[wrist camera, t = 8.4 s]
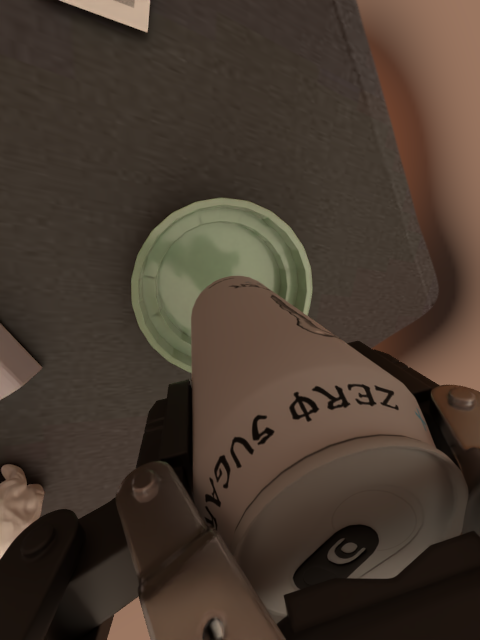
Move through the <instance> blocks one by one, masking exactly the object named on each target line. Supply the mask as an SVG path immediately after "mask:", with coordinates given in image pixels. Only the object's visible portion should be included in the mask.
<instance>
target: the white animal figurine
mask: <svg viewBox="0 0 480 640" xmlns="http://www.w3.org/2000/svg"><path fill="white" fill-rule="evenodd" d="M1 473H2V475H3V476H4V478H5V479H6V481H4V482H2V483H0V559H1V558H2V556H3V555H4V553H5V552H6V550H7V549H8V547H9V546H10V545H11V543H12V542H13V541H14V540H15V539H16V537H17V536H18V535H19V534H20V533H21V532H22V531H23V530H24V529H26V528H27V527H28V526H29V525H30V524H32V523H33V522H34V521H36V520H37V519H39V517H40V514H41V510H42V501H43V496H44V493H45V492H44V490H43V487H42V486H41V485H39V484H29V485H28V486H27V481H26V477H25V474H24V472H23V470H22V469H21V468H20V467H18V466H15V465H12V464H6V465H4V466H2V468H1Z"/></svg>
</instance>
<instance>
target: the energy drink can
mask: <svg viewBox="0 0 480 640" xmlns="http://www.w3.org/2000/svg"><path fill="white" fill-rule="evenodd" d="M191 354H192V444H193V492H194V502H195V504H196V507H197V509H198V511H199V513H200V514H201V516H202V518H203V519H204V521H205V523H206V524H207V525H208V526H210V525H212V526H213V527H214V528H215V529H216V530H217V532H218V533H219V534H220V536H221V537H222V539H223V541H224V542H225V544H226V545H227V547H228V549H229V550H230V552H231V553H232V555H233V556H234V558H235V560H236V561H237V563H238V564H239V566H240V567H241V569H242V571H243V572H244V574H245V575H246V577H247V579H248V580H249V582H250V583H251V585H252V586H253V588H254V590H255V591H256V593H257V594H258V596H259V598H260V599H261V601H262V602H263V604H264V605H265V607H266V609H267V610H268V612H269V613H270V615H271V616H272V618H273V620H274V621H275V623H276V624H277V623H278V622H279V621H281V620H282V619H283V618H284V617H285V616H286V615H287V612H286V606H285V601H284V595H285V594H288V593H291V592H294V591H297V590H300V589H303V588H306V587H309V586H312V585H315V584H318V583H321V582H324V581H327V580H330V579H333V578H367V579H389V578H393V577H395V576H397V575H398V574H399V573H400V572H401V571H402V570H403V569H405V568H406V567H407V566H408V565H409V564H410V563H411V562H412V561H413V560H415V559H416V558H417V557H418V556H419V555H420V554H421V553H422V552H423V551H425V550H426V549H427V548H428V547H429V546H430V545H433V544H436V543H439V542H442V541H444V540H447V539H450V538H453V537H456V536H459V535H460V534H461V532H462V528H463V521H464V515H465V510H466V505H467V501H468V496H469V493H468V486H467V484H466V481H465V479H464V477H463V474H462V472H461V470H460V469H459V468H458V467H457V466H456V465H455V464H454V462H453V461H452V460H451V459H450V458H449V457H448V456H447V455H446V454H444V453H443V452H442V451H440V450H438V449H436V447H435V444H434V441H433V439H432V436H431V434H430V431H429V428H428V426H427V423H426V421H425V418H424V416H423V414H422V412H421V409H420V407H419V405H418V403H417V401H416V399H415V397H414V396H413V395H412V393H411V392H410V391H409V390H408V389H407V387H406V386H405V385H404V384H403V383H402V382H400V381H399V380H398V379H396V378H395V377H393V376H392V375H390V374H389V373H388V372H386V371H385V370H383V369H382V368H381V367H379V366H378V365H376V364H375V363H373V362H372V361H371V360H369V359H368V358H366V357H365V356H364V355H362V354H361V353H359V352H358V351H356V350H355V349H354V348H352V347H351V346H349V345H348V344H347V343H345V342H344V341H342V340H341V339H339V338H338V337H337V336H335V335H334V334H332V333H331V332H330V331H328V330H327V329H325V328H324V327H322V326H321V325H320V324H318V323H317V322H315V321H314V320H313V319H311V318H310V317H308V316H307V315H305V314H304V313H303V312H301V311H300V310H298V309H297V308H296V307H294V306H293V305H291V304H290V303H288V302H287V301H286V300H284V299H283V298H281V297H280V296H279V295H277V294H276V293H274V292H273V291H271V290H270V289H269V288H267V287H266V286H264V285H263V284H261V283H260V282H259V281H257V280H254V279H252V278H250V277H245V276H229V277H224V278H221V279H219V280H217V281H214V282H213V283H211V284H210V285H208V286H207V287H206V288H205V289H204V290H203V291H202V292H201V293H200V295H199V296H198V298H197V299H196V301H195V304H194V306H193V309H192V315H191Z"/></svg>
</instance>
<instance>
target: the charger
mask: <svg viewBox="0 0 480 640" xmlns="http://www.w3.org/2000/svg"><path fill="white" fill-rule="evenodd" d="M41 369H42V367H41V366H40V365H39V363H38V362H37V361H36V360H35V359H34V358H33V357H32V356H31V355H30V354H29V353H28V352H27V351H26V350H25V349H24V348H23V347H22V346H21V344H20V343H19V342H18V341H17V340H16V339H15V338H14V337H13V336H12V335H11V334H10V333H9V332H8V331H7V330H6V329H5V328H4V326H3V325H2V324H1V323H0V400H1V399H3V398H4V397H6V396H8V395H9V394H11V393H13V392H14V391H16V390H17V389H19V388H20V387H22V386H23V385H24V384H25V383H27V382H28V381H29V380H30V379H31V378H32V377H33V376H34V375H35V374H36V373H38V372H39V371H40V370H41Z"/></svg>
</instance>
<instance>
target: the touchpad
mask: <svg viewBox="0 0 480 640" xmlns="http://www.w3.org/2000/svg"><path fill="white" fill-rule="evenodd" d="M59 1H62V2H65V3H67V4H70V5H73V6H76V7H78V8H81V9H84V10H87V11H89V12H92V13H95V14H98V15H100V16H103V17H106V18H109V19H111V20H114V21H117V22H119V23H122V24H125V25H128V26H130V27H133V28H136V29H139V30H141V31H144V32H147V33H148V21H149V9H150V0H59Z"/></svg>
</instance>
